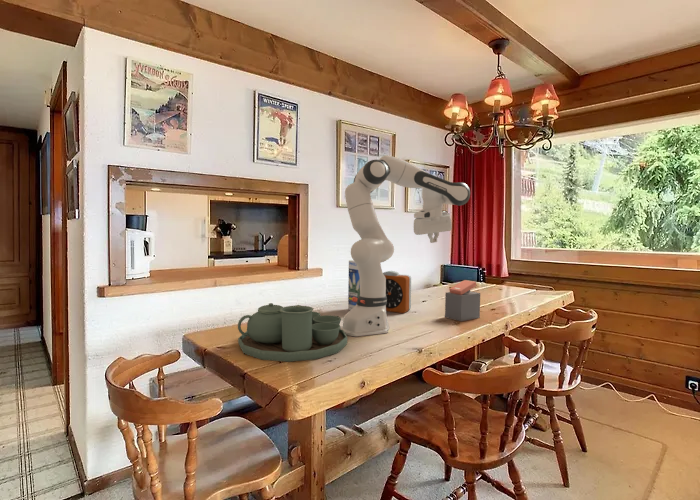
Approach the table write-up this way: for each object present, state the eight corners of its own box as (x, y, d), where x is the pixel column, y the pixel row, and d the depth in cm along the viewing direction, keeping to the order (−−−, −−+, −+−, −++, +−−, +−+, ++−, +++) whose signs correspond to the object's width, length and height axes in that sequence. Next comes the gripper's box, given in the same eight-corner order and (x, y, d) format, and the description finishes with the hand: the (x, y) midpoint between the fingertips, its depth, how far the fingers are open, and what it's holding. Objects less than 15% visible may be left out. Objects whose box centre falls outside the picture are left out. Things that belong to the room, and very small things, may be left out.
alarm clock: (371, 309, 213) (372, 270, 212) (378, 306, 221) (379, 268, 220) (405, 313, 205) (406, 272, 203) (411, 310, 212) (411, 271, 211)
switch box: (461, 321, 189) (461, 295, 189) (445, 317, 198) (445, 292, 197) (479, 317, 197) (480, 293, 196) (463, 313, 205) (464, 290, 204)
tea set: (368, 345, 154) (368, 301, 152) (279, 372, 126) (279, 319, 125) (302, 325, 182) (302, 288, 181) (218, 344, 154) (217, 300, 153)
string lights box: (347, 309, 213) (347, 260, 212) (358, 307, 218) (358, 259, 217) (365, 314, 204) (365, 262, 202) (376, 311, 209) (376, 261, 207)
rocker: (462, 297, 191) (460, 290, 190) (450, 295, 197) (449, 288, 196) (477, 288, 197) (475, 281, 196) (465, 286, 202) (464, 279, 202)
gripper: (445, 211, 197) (445, 239, 199) (410, 214, 188) (412, 244, 189) (454, 211, 192) (455, 240, 194) (419, 214, 182) (420, 245, 184)
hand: (433, 242), depth 191 cm, fingers closed
